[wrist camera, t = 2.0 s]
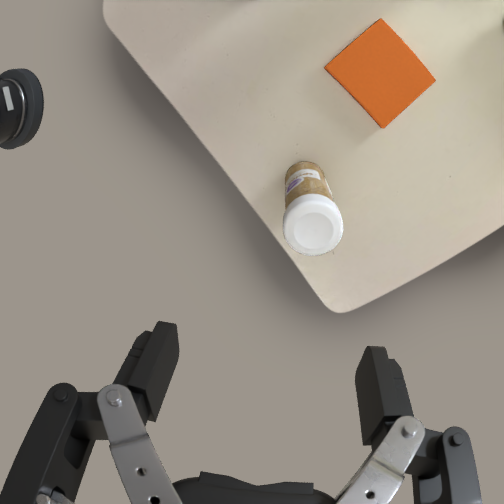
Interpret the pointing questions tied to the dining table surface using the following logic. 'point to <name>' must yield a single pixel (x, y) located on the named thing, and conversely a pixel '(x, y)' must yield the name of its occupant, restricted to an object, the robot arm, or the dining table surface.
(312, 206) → the sprinkles bottle
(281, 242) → the dining table surface
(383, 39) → the orange square coaster
